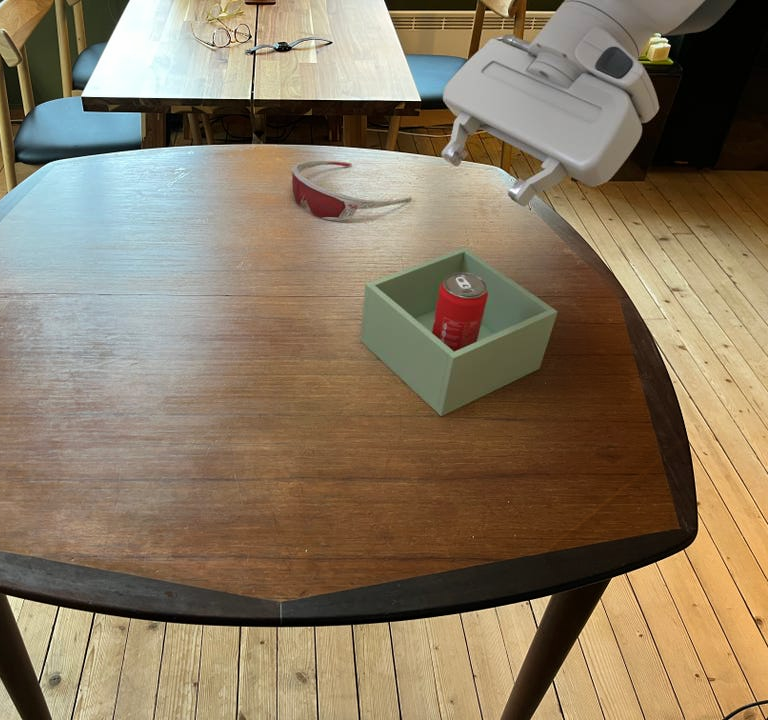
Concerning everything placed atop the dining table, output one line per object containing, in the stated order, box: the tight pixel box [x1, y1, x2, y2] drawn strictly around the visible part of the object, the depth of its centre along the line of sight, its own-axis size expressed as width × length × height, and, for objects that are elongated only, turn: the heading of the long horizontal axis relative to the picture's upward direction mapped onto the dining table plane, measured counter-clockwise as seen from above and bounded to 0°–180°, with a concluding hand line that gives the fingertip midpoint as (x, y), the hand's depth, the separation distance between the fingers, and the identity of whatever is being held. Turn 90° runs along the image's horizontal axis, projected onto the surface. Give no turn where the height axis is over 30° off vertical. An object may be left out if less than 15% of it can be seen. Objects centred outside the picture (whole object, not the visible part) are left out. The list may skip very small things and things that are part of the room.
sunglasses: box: [291, 160, 413, 221], centre depth 119 cm, size 17×17×5 cm
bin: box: [359, 246, 558, 417], centre depth 88 cm, size 16×16×9 cm
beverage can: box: [432, 273, 488, 352], centre depth 84 cm, size 5×5×12 cm
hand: (480, 180), depth 72 cm, fingers open, 8 cm apart
